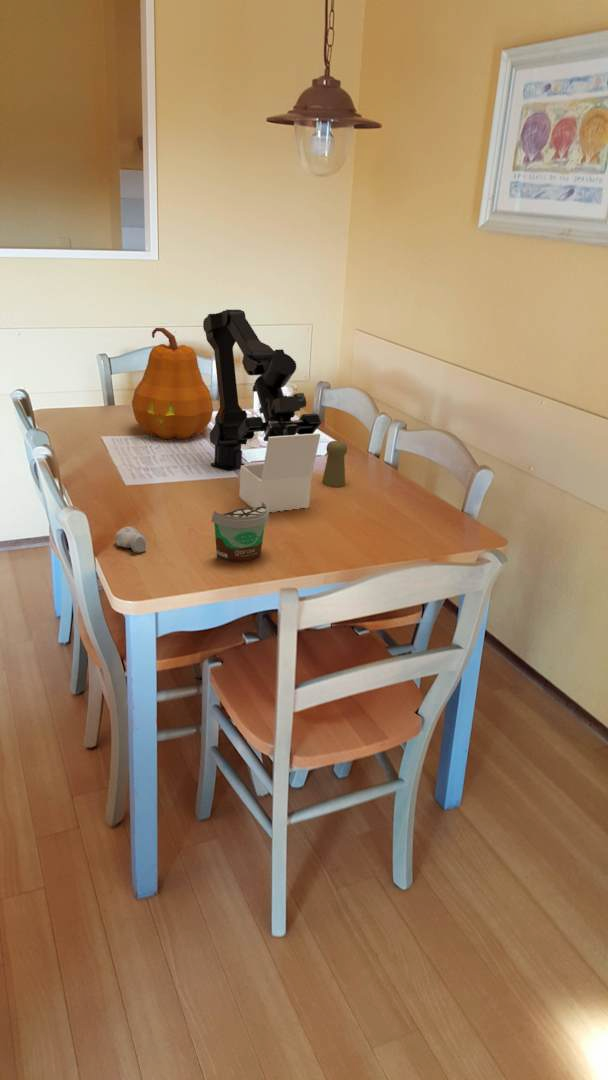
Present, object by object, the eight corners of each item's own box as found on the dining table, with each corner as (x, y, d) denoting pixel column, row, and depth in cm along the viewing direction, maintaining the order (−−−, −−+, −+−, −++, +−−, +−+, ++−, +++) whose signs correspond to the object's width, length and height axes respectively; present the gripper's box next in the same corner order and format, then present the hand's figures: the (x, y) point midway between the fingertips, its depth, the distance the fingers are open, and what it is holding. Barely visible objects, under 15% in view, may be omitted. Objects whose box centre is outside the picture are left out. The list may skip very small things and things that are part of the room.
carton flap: (268, 436, 176) (269, 437, 176) (319, 433, 182) (320, 434, 181) (261, 479, 182) (262, 480, 182) (311, 474, 188) (311, 475, 187)
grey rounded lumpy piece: (114, 547, 166) (137, 536, 168) (128, 562, 160) (151, 550, 162) (107, 529, 164) (130, 519, 166) (121, 543, 158) (145, 532, 160)
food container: (226, 570, 157) (227, 522, 153) (210, 558, 162) (211, 511, 158) (278, 558, 164) (282, 511, 160) (262, 547, 169) (264, 501, 165)
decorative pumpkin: (117, 437, 232) (114, 330, 220) (154, 418, 253) (154, 319, 241) (193, 449, 226) (195, 340, 215) (225, 429, 247) (228, 328, 236)
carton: (239, 497, 194) (240, 465, 191) (288, 492, 200) (290, 461, 197) (258, 514, 185) (260, 480, 182) (309, 508, 191) (311, 475, 188)
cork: (343, 488, 205) (347, 446, 201) (319, 485, 206) (323, 443, 202) (347, 481, 211) (351, 440, 207) (324, 478, 212) (327, 437, 208)
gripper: (245, 381, 176) (264, 446, 171) (321, 378, 184) (340, 440, 180) (229, 407, 185) (247, 469, 181) (302, 403, 193) (320, 462, 189)
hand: (289, 459), depth 182 cm, fingers closed, pressing on carton flap
